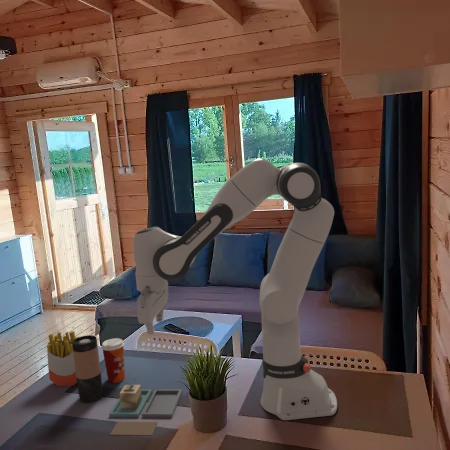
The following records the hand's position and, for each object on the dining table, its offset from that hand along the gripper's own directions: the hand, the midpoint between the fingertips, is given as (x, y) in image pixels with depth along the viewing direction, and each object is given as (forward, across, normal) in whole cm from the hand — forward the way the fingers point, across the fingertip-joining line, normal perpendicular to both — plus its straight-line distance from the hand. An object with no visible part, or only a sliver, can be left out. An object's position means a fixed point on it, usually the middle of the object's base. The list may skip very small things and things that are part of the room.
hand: (155, 326), depth 133 cm
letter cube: (+25, 0, +10) cm, 27 cm away
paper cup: (+26, +16, +21) cm, 37 cm away
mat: (+25, -12, +5) cm, 29 cm away
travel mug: (+26, +4, +25) cm, 36 cm away
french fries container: (+26, +14, +38) cm, 48 cm away
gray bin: (+25, 0, 0) cm, 25 cm away
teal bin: (+25, 0, +10) cm, 27 cm away
